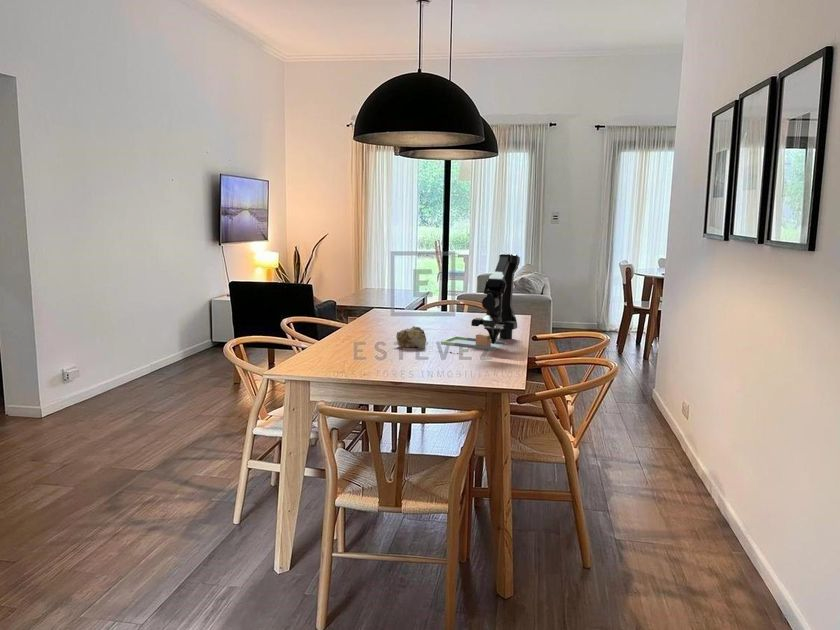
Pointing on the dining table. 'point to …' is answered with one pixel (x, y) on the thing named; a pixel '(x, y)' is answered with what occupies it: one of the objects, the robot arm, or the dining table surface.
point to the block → (483, 339)
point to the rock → (411, 338)
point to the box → (470, 343)
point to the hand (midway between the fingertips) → (493, 343)
